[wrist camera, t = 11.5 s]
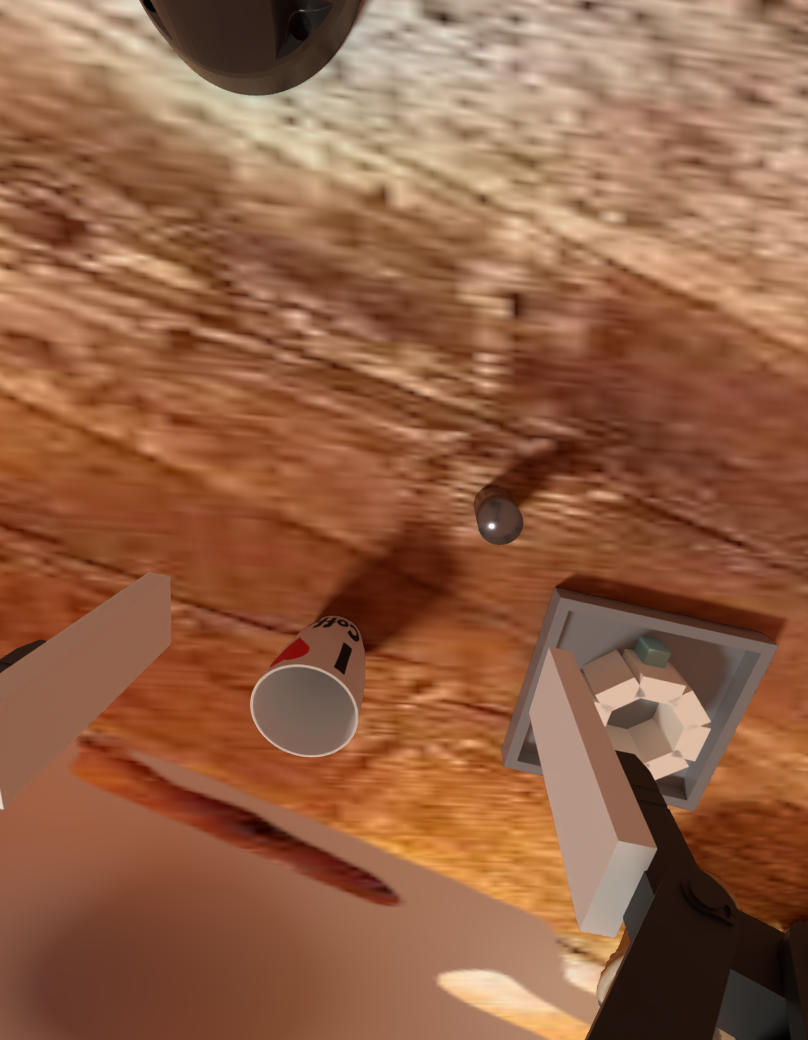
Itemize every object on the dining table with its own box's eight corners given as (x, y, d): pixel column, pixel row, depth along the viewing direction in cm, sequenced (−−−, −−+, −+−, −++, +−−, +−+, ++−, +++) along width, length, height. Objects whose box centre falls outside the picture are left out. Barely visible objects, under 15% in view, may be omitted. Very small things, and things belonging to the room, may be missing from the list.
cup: (382, 608, 42) (363, 674, 32) (373, 683, 44) (353, 765, 35) (296, 594, 42) (251, 656, 33) (291, 669, 45) (248, 747, 35)
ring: (554, 730, 43) (564, 764, 39) (593, 625, 40) (608, 650, 36) (659, 755, 43) (680, 791, 39) (707, 651, 40) (735, 679, 36)
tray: (555, 587, 40) (560, 597, 38) (762, 633, 39) (778, 645, 37) (501, 750, 45) (503, 766, 43) (683, 792, 44) (694, 811, 43)
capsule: (478, 481, 38) (484, 497, 32) (517, 490, 38) (528, 507, 32) (469, 518, 39) (473, 539, 33) (506, 526, 39) (516, 548, 33)
